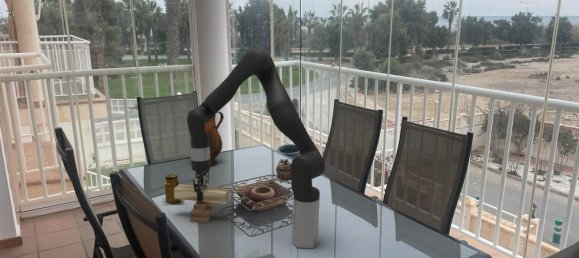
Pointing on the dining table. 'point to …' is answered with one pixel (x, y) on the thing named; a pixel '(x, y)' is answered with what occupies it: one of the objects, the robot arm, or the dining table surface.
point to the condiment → (171, 190)
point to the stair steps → (202, 212)
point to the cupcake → (284, 170)
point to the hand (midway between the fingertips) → (202, 197)
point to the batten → (208, 194)
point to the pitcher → (214, 138)
